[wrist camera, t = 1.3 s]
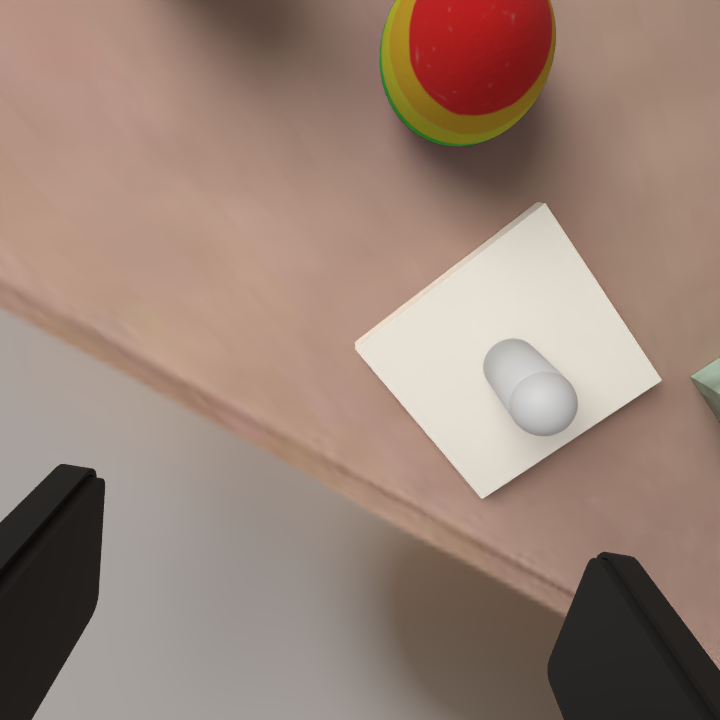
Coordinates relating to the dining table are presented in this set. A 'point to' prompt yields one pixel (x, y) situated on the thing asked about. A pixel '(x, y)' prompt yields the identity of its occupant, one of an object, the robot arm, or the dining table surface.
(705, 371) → the collar
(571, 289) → the post board
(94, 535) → the robot arm
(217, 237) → the dining table surface
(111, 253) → the dining table surface
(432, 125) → the decorative egg
